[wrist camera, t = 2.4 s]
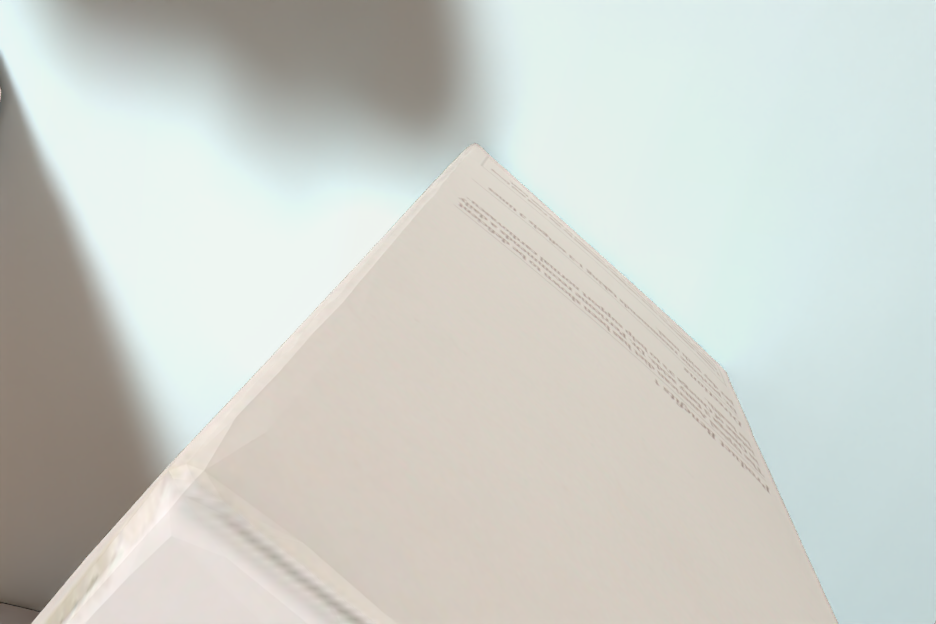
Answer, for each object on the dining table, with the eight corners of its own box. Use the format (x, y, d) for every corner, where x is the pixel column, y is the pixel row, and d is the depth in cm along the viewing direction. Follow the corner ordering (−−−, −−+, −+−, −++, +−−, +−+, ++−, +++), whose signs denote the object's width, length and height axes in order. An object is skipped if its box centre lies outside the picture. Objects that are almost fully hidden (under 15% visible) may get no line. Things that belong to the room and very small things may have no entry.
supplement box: (259, 377, 18) (-354, 1038, 6) (477, 130, 16) (161, 436, 4) (499, 579, 19) (371, 1488, 7) (740, 377, 16) (1154, 1243, 5)
